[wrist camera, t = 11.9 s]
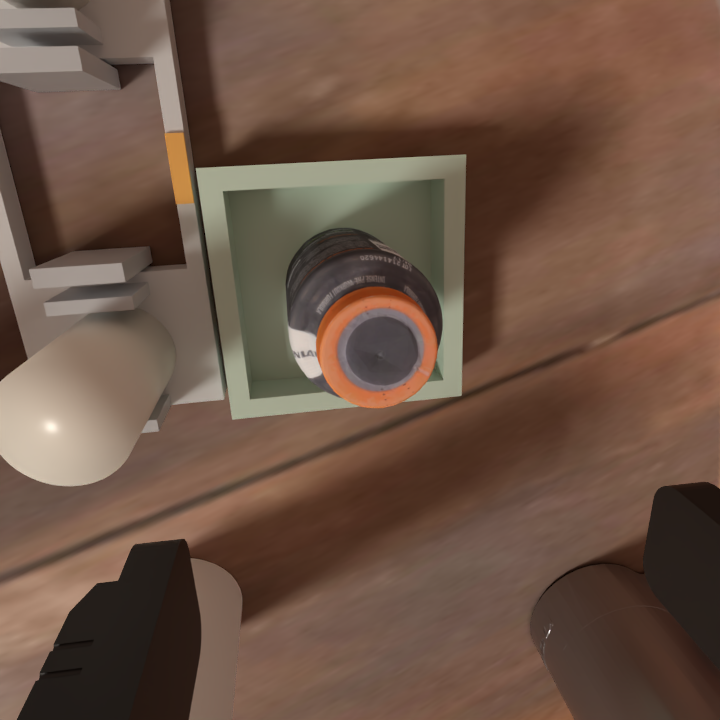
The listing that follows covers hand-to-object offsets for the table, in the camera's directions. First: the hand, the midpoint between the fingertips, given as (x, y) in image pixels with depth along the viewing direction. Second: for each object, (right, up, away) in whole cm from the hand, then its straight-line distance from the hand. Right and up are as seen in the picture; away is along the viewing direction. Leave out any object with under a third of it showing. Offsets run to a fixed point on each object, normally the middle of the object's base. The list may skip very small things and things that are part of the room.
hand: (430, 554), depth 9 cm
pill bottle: (-2, +7, +19) cm, 21 cm away
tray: (-2, +7, +19) cm, 21 cm away
